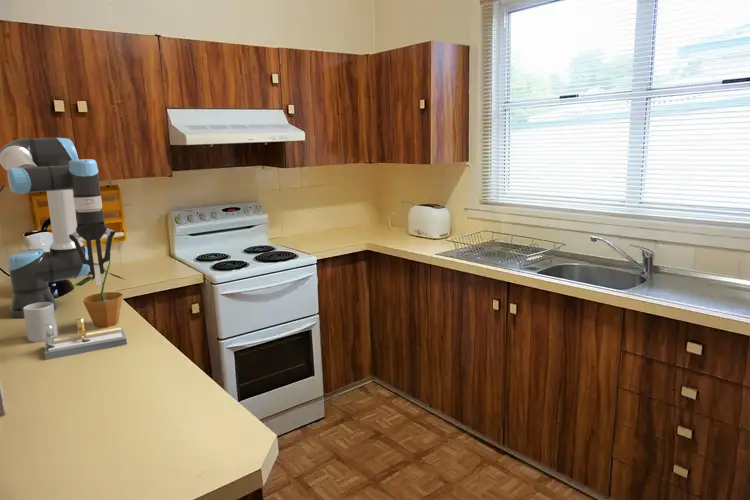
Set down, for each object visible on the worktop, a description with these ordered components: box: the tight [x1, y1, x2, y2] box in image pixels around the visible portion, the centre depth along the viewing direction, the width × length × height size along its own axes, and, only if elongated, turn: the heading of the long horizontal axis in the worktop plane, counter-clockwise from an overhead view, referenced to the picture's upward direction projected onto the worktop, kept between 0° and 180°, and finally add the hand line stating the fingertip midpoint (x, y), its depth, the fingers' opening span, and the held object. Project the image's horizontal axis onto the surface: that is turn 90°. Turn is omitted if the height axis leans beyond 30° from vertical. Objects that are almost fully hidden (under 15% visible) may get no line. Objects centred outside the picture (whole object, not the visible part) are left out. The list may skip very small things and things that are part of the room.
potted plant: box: [74, 237, 126, 329], centre depth 186 cm, size 18×19×30 cm
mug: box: [23, 302, 59, 343], centre depth 178 cm, size 12×8×11 cm
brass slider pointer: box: [75, 317, 87, 341], centre depth 168 cm, size 8×2×5 cm, turn 30°
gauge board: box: [44, 327, 128, 360], centre depth 169 cm, size 12×22×3 cm, turn 120°
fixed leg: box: [45, 324, 56, 347], centre depth 164 cm, size 8×2×5 cm, turn 30°
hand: (98, 284), depth 170 cm, fingers closed
